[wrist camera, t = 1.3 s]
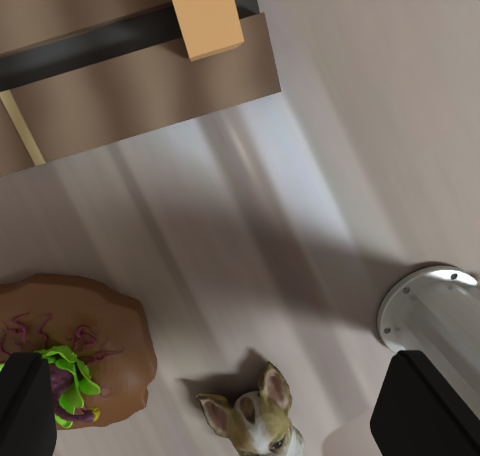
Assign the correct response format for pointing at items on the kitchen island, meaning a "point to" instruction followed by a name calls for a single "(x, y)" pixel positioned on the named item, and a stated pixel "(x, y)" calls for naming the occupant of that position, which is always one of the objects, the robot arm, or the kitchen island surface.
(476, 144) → the kitchen island surface
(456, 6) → the kitchen island surface
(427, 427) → the robot arm
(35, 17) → the slider console
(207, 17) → the fader tab
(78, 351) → the plant
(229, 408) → the ceramic sculpture
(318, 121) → the kitchen island surface
